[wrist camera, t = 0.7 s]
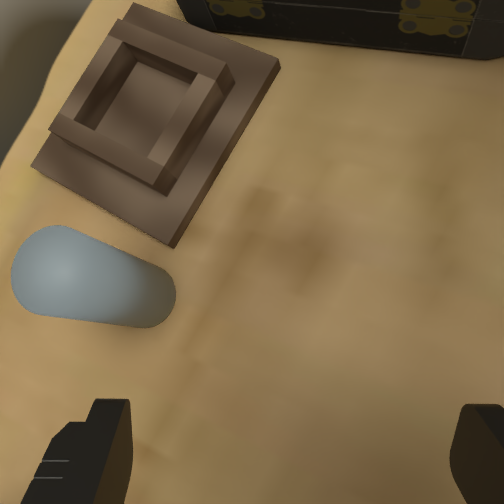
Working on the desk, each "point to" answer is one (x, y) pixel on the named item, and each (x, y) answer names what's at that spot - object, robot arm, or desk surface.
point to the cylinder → (89, 280)
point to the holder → (155, 120)
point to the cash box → (363, 23)
